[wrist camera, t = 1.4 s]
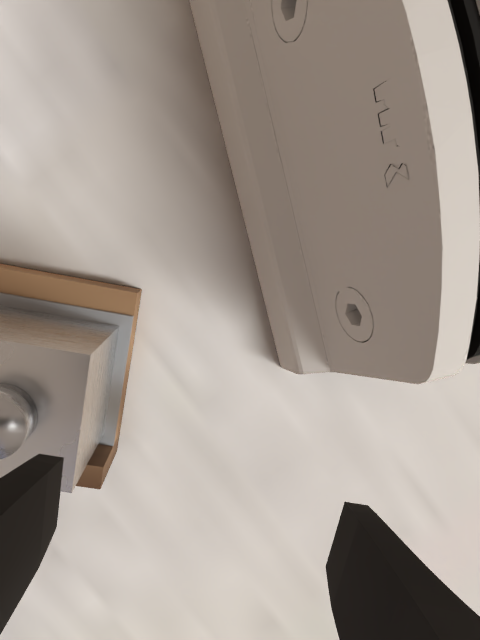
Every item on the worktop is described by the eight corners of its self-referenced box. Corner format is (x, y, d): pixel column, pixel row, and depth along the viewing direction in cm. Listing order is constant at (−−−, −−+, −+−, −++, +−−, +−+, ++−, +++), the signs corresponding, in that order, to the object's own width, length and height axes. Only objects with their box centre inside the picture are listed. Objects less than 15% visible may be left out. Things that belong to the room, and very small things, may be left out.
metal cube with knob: (103, 434, 20) (62, 510, 14) (-13, 417, 19) (-102, 488, 14) (119, 326, 19) (81, 364, 13) (-3, 304, 18) (-93, 335, 13)
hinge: (186, -10, 18) (327, -316, 8) (287, -16, 19) (497, -278, 10) (282, 375, 21) (457, 453, 12) (361, 342, 23) (569, 389, 14)
